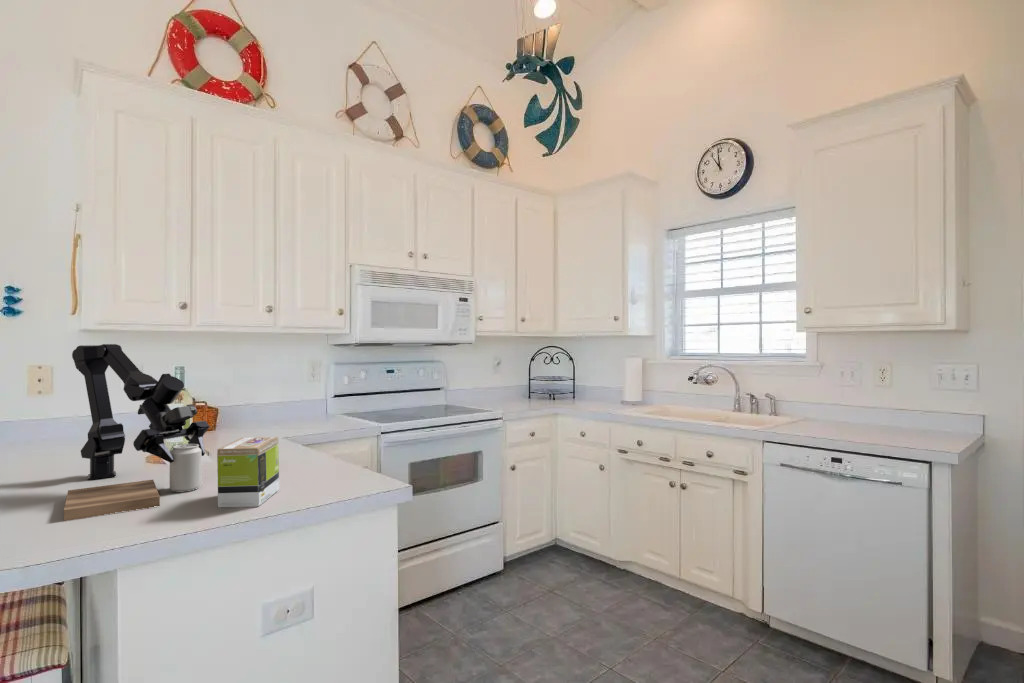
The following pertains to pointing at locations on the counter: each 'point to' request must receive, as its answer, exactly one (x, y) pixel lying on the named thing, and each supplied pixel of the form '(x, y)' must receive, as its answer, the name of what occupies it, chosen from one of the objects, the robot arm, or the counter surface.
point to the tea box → (248, 471)
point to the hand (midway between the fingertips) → (188, 458)
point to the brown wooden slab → (110, 499)
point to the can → (186, 467)
